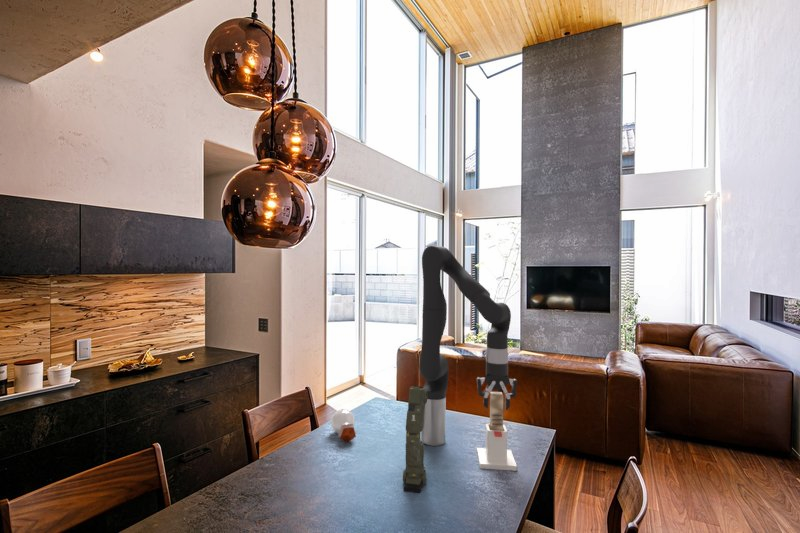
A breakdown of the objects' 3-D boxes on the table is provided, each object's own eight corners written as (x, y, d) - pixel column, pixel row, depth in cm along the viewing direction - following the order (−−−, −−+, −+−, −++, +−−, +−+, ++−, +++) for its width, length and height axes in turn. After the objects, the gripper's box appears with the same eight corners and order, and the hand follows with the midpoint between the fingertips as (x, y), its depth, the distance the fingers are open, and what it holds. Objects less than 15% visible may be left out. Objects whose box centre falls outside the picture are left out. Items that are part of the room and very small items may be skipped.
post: (490, 458, 135) (491, 395, 135) (489, 452, 139) (489, 391, 140) (503, 459, 135) (503, 395, 135) (501, 453, 139) (501, 392, 139)
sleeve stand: (479, 468, 132) (480, 433, 132) (476, 451, 144) (477, 420, 144) (516, 470, 131) (517, 435, 131) (510, 453, 142) (510, 421, 143)
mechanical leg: (421, 497, 113) (426, 388, 120) (397, 494, 114) (403, 386, 122) (427, 484, 126) (431, 386, 133) (405, 481, 127) (410, 384, 135)
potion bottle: (342, 430, 164) (350, 450, 150) (324, 419, 161) (330, 439, 147) (356, 412, 165) (365, 430, 151) (338, 400, 162) (345, 418, 148)
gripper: (476, 362, 134) (476, 411, 134) (520, 363, 133) (519, 413, 133) (475, 357, 142) (474, 404, 142) (516, 358, 140) (515, 406, 140)
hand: (496, 408), depth 137 cm, fingers open, 6 cm apart
